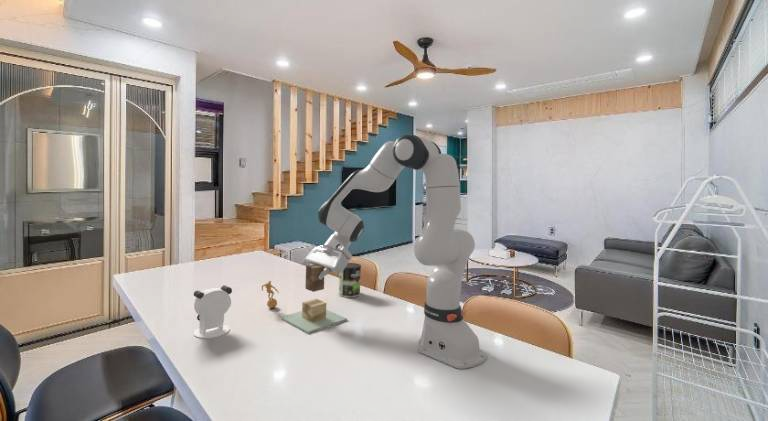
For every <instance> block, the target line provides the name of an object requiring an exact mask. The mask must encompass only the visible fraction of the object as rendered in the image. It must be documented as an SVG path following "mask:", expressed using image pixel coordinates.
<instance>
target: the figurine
mask: <svg viewBox="0 0 768 421" xmlns="http://www.w3.org/2000/svg"><path fill="white" fill-rule="evenodd" d="M264 287H265V289H266V293H267V294H268V295H267V296H268V300H267V302H266V303H267V304H266V305H267V307H268V308H269V309H274V308H276V307H277V305H278V301H277V299H275V298H273V297H274V295H275V292H274V291H273V289H274V290H275V291H276V292H277V294H280V292H279V291H278V289H277V288H276V287H275V286H273V285H272V281H271V280H268V282H266V283H263V284H262V285H261V291H264ZM270 296H271V297H270Z"/></svg>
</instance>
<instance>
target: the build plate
mask: <svg viewBox="0 0 768 421" xmlns="http://www.w3.org/2000/svg"><path fill="white" fill-rule="evenodd" d="M280 319H281V320H282V322H283V321H284V322H286V323H287V324H289V325H290V326H293V327H294V328H296V329H298V330H300V331H302V332H304V333H306V334H307V335H308V334H312V333H314V332H317V331H321V330H324V329H327V328H329V327H332V326H336V325H339V324H341V323H343V322H347V321H348V318H346V316H345V317H344V316H342V315H339V314H338V313H336V312H333V311H331V310H329V309H326V318H325V319H322V320H318V321H315V322H310V321H308V320H306V319H304V318H302V310H301V311H297V312H293V313H291V314H287V315H283V316H280Z"/></svg>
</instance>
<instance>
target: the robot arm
mask: <svg viewBox="0 0 768 421" xmlns="http://www.w3.org/2000/svg"><path fill="white" fill-rule="evenodd" d="M404 168H407V169H412V170H415V171H421V172H422V173H423V174H424V179H425V200H426V202H425V203H426V209H425V210H426V211H425V212H426V214H425V220H424V223H423V227H422V230H421V232H420V234H419V236H418V237H417V238H416V240H415V242H414V246H413V254H414V256H415V259H416V260H417V261H418V262H419V264H422V265H424V266H429V267H433V270H432V272H431V273H430V275H429V276H428V277H427V280H426V291H425V292H426V293H425V294H426V296H425V301H424V307H423V313H424V315H425V316H424V319H423V320H424V321H423V326H422V331H421V335H420V339H419V341H418V344H419V347H418V352H419V353H421V354H423V355H425V356H427V357H430V358H432V359H434V360H436V361H439V362H441V363H443V364H446V365H449V366H450V367H453V368H454V369H455V368H456V369H457V370H458V369H460V370H461V369H463V370H464V369H470V368H473V367H476V366H479V365H481V364H483V363H484V362H485V361H486V360H487V353H486V352H485V351H483V350H481V349H480V341H479V337H478V336H477V334H476V333H475V332H474V330H472V328H471V327H470V325H469V324H468V323H467V321H465V320H464V316H465V315H467V314H466V313H467V311H466V310H465V311H463V310H462V306H461V305H460V304H461V290H462V289H461V288H462V282H463V281H462V280H463V278H464V273H465V270H466V267H467V264H468V261H469V258H470V257H471V255H472V254H473V252H474V250H475V244H476V243H475V239H474V237H473V236H472V234H471V233H470V232H469V231H468V230H463V229H460V228H455V223H456V220H457V218H458V216H459V214H460V213H461V212H462V211H461V210H462V205H461V203H462V202H461V183H460V175H459V169H458V166H457V161H456V159H455V158H454V157H453V156H452V155H450V154H447V153H442V151H441V148H440V147H439V145H437V144H436V143H435V142H433V141H431V140H429V139H427V138H425V137H423V136H421V135H420V136H419V135H415V134H405V135H402V136H400V137H398V138H397V139H396V140H395V141H394V140H388V141H386V142H384V143H383V145H382V146H381V147H380V148H379V149H378V151H377V152H376V153H375V154H374V155H373V157H372V159H371V160H370V162H369V163H368V165H367V166H365V167H364V168H363V169H356V170H355V171H353V172H352V173H351V174H350V175H349V176H348V177H347V178H346V179H345V180H344V182H342V184H341V185H340V186H339V187H338V188H337V190H335V192H334V193H333V194H332V195H331V197H330V198H328V199H327V200H326V201H325V202H324V203H323V204H322V205H321V206H320V207H319V209H318V211H317V218H318V220H319V223H320V224H321V225H323V226H326V227H327V228H329V229H330V230H332V231H334V232H333V233H332V234H331V235H330V236H329V237H328V238H327V239H326V241H325V242H324V243H323V245H321V244H319V245H318V246H316V247H314V248H312V250H311V251H309V253H308V254H307V255H306V256H305V258H304V261H305V262H306V263H307V264H308V265H312V264H317V265H320V266H323V267H325V268H324V271H323V272H321V273H319V274H318V275H317V278H318V279H320V280H322V278H323V277H324V278H325V276H327V275H330V273H334V274H336V275H339V274H340V273H341V272H342V271H343V270H344V269H345V267H346V266H347V264H348V263H350V260H352V258H353V255H352V253H351V252H350V251H349V250H348V249H349V247H350V245H351V244H352V243H355V242H357V240H358V239H359V237H360V236H362V234H363V232H364V231H365V223H364V221H363V220H362V218H361V217H360V216H359V215H358V214H356V213H353V212H351V211H350V210H349V209H347V208H345V207H344V206H343V205H342V204H341V203H342V201H343V200H344V199H345V198H346V197H347V195H349V193H351V191H352V190H363V191H368V192H373V193H383V192H386V191H387V190H389V189H390V187H391V186H393V184H394V182H395V180H396V179H397V178H398V176H399V175H400V173H401V172H402V171H403V170H404Z"/></svg>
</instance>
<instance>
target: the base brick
mask: <svg viewBox="0 0 768 421" xmlns="http://www.w3.org/2000/svg"><path fill="white" fill-rule="evenodd" d="M301 307H302V309H301V311H302V318H304V319H306V320H308V321H310V322H315V321H318V320H322V319H325V318H326V310H327V302H325V301H323V300H320V299H318V298H313V299H311V300H306V301H303V302H302V304H301Z"/></svg>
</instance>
